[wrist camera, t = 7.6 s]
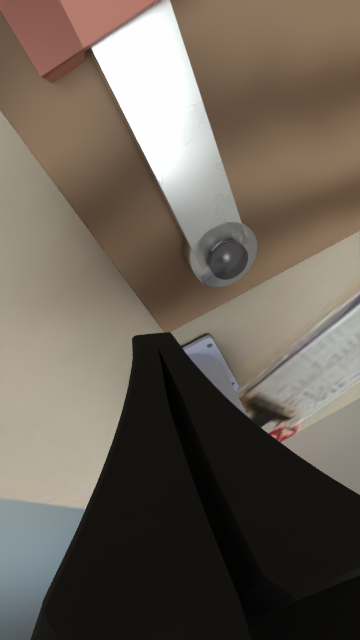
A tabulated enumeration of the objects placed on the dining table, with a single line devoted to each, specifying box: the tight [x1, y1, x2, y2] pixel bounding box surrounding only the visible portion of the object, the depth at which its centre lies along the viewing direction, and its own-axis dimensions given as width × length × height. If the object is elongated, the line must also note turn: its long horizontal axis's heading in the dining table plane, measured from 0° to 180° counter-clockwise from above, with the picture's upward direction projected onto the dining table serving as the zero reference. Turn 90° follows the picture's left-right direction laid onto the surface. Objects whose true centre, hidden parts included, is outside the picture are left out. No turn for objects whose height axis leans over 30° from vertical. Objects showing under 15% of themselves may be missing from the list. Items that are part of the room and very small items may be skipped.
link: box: [89, 0, 257, 287], centre depth 12 cm, size 16×4×2 cm, turn 26°
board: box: [0, 0, 360, 333], centre depth 14 cm, size 20×19×1 cm
